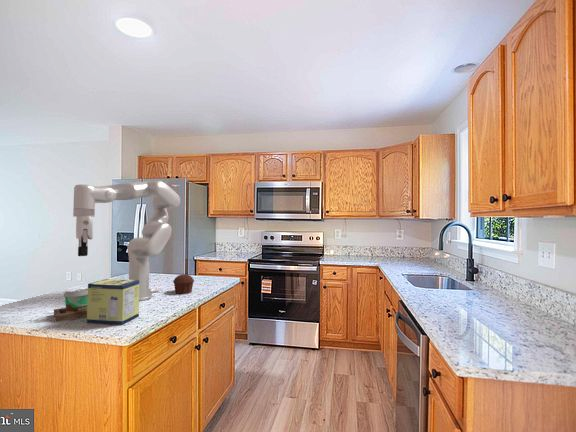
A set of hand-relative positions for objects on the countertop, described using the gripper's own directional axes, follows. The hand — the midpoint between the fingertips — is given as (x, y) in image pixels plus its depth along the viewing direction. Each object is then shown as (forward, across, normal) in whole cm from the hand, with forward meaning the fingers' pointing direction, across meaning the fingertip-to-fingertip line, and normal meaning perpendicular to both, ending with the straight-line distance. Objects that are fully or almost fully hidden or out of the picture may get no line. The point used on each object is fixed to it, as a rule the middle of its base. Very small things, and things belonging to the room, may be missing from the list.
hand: (82, 255), depth 122 cm
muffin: (+25, +10, -49) cm, 56 cm away
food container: (+24, -2, 0) cm, 24 cm away
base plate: (+25, 0, 0) cm, 25 cm away
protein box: (+25, -16, -9) cm, 31 cm away
